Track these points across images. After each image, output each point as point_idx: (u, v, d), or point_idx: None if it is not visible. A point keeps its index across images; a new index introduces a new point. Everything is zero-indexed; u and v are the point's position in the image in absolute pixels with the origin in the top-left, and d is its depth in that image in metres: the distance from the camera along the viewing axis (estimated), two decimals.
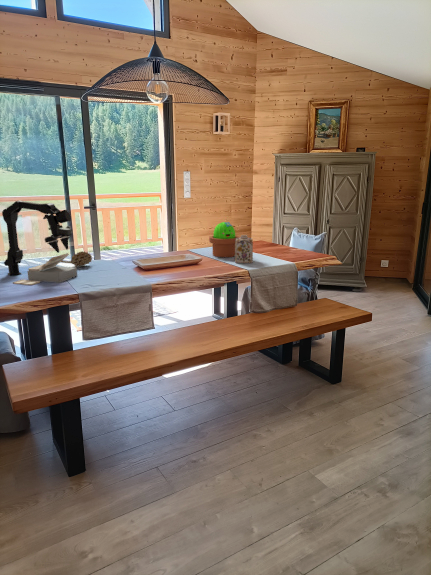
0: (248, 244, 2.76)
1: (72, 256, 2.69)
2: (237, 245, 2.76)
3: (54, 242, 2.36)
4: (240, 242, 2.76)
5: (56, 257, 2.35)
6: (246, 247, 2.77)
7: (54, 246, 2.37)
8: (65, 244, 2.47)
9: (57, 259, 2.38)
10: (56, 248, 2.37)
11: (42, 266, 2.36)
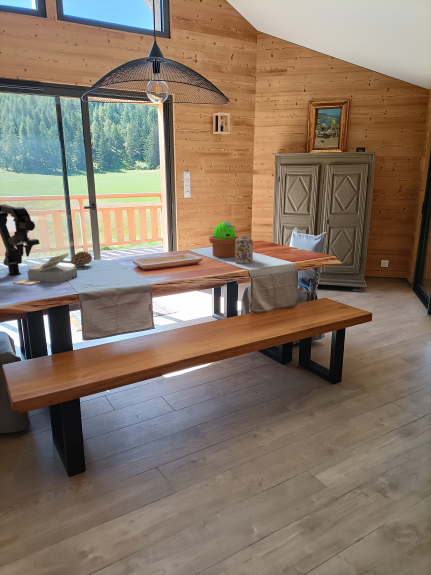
0: (248, 244, 2.76)
1: (72, 256, 2.69)
2: (237, 245, 2.76)
3: None
4: (240, 242, 2.76)
5: (56, 257, 2.35)
6: (246, 247, 2.77)
7: None
8: None
9: (57, 259, 2.38)
10: None
11: (42, 266, 2.36)
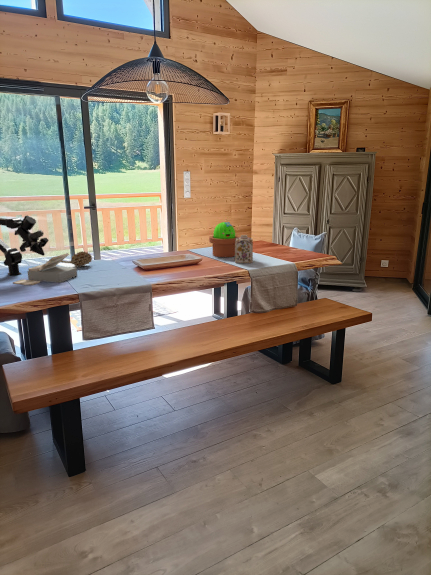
0: (248, 244, 2.76)
1: (72, 256, 2.69)
2: (237, 245, 2.76)
3: (35, 247, 2.40)
4: (240, 242, 2.76)
5: (56, 257, 2.35)
6: (246, 247, 2.77)
7: (37, 251, 2.41)
8: None
9: (57, 259, 2.38)
10: (39, 251, 2.41)
11: (42, 266, 2.36)
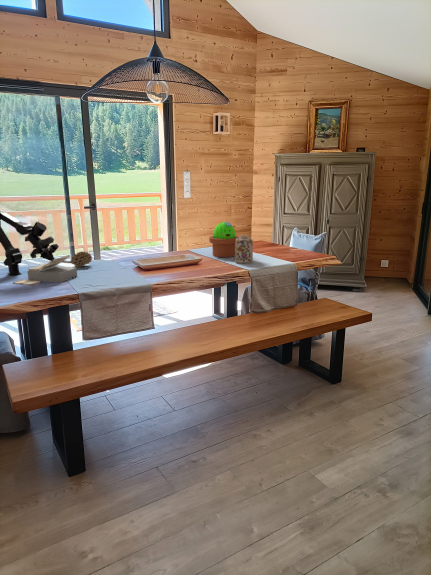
0: (248, 244, 2.76)
1: (72, 256, 2.69)
2: (237, 245, 2.76)
3: (46, 253, 2.39)
4: (240, 242, 2.76)
5: (57, 259, 2.35)
6: (246, 247, 2.77)
7: (47, 257, 2.40)
8: None
9: (58, 261, 2.38)
10: (50, 258, 2.40)
11: (42, 267, 2.36)
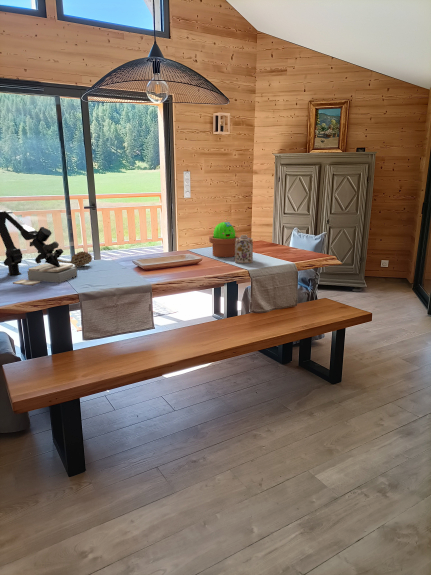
0: (248, 244, 2.76)
1: (72, 256, 2.69)
2: (237, 245, 2.76)
3: (50, 258, 2.39)
4: (240, 242, 2.76)
5: (61, 269, 2.36)
6: (246, 247, 2.77)
7: (52, 262, 2.40)
8: None
9: None
10: (55, 263, 2.39)
11: (44, 270, 2.36)
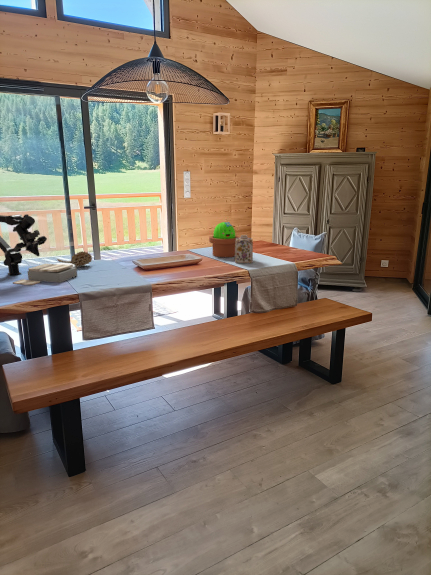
0: (248, 244, 2.76)
1: (72, 256, 2.69)
2: (237, 245, 2.76)
3: None
4: (240, 242, 2.76)
5: (61, 269, 2.36)
6: (246, 247, 2.77)
7: (32, 251, 2.40)
8: None
9: None
10: (34, 252, 2.40)
11: (44, 270, 2.36)
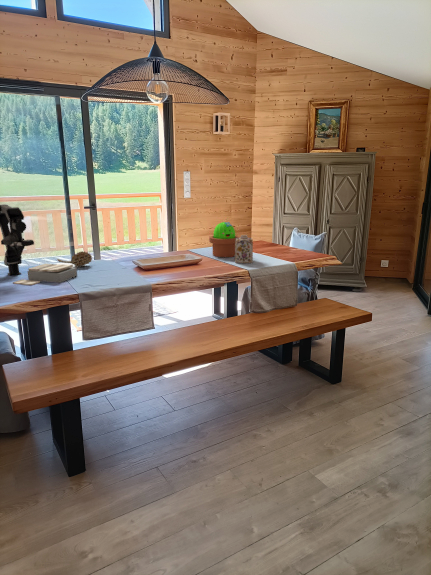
0: (248, 244, 2.76)
1: (72, 256, 2.69)
2: (237, 245, 2.76)
3: None
4: (240, 242, 2.76)
5: (61, 269, 2.36)
6: (246, 247, 2.77)
7: None
8: None
9: None
10: None
11: (44, 270, 2.36)
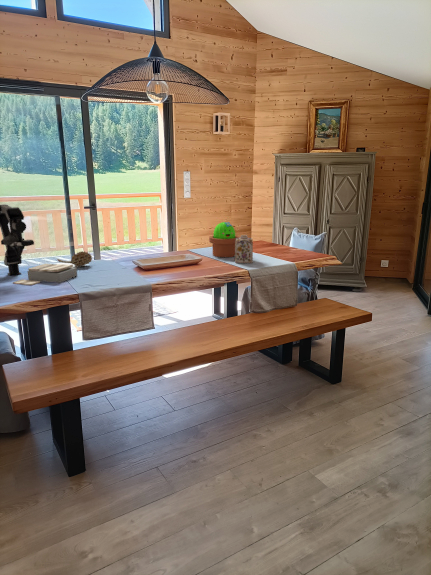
0: (248, 244, 2.76)
1: (72, 256, 2.69)
2: (237, 245, 2.76)
3: None
4: (240, 242, 2.76)
5: (61, 269, 2.36)
6: (246, 247, 2.77)
7: None
8: None
9: None
10: None
11: (44, 270, 2.36)
